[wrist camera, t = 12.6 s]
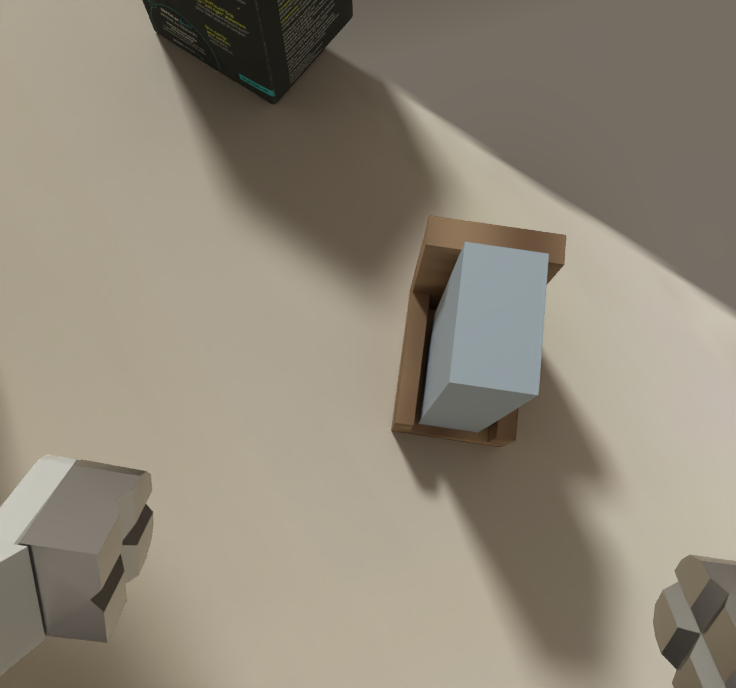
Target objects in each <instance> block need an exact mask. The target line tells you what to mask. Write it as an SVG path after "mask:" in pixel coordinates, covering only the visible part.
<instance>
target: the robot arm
mask: <svg viewBox="0 0 736 688" xmlns="http://www.w3.org/2000/svg"><path fill="white" fill-rule="evenodd" d="M151 492H152V482H151V474H150V473H148V472H147V471H142V470H137V469H131V468H126V467H120V466H114V465H109V464H103V463H98V462H92V461H87V460H77V459H72V458H66V457H61V456H55V455H50V454H47V455H45V456H44V457H42V458H40V459H38V460H37V461H36V462H35V464H34V465H33V466H32V467H31V469H30V470H29V471H28V472H27V474H26V475H25V476H24V477H23V479H22V480H21V481H20V483H19V484H18V485H17V486H16V488H15V489H14V490H13V491H12V493H11V494H10V495H9V496H8V498H7V499H6V500H5V501H4V503H3V504H2V505H1V507H0V676H1V675H2V674H3V673H5V672H6V671H7V670H8V669H10V668H11V667H12V666H13V665H14V664H16V663H17V662H18V661H19V660H21V659H22V658H23V657H24V656H26V655H27V654H28V653H29V652H30V651H32V650H33V649H34V648H35V647H37V646H38V645H39V644H40V643H41V642H43V641H44V640H45V635H46V636H55V637H63V638H71V639H80V640H88V641H97V642H105V643H107V642H108V640H109V638H110V636H111V633H112V631H113V629H114V627H115V625H116V623H117V621H118V619H119V616H120V614H121V612H122V610H123V608H124V606H125V604H126V601H127V599H126V583H128V582H129V581H131V580H132V579H133V578H135V577H136V576H138V575H139V573H140V571H141V569H142V566H143V564H144V562H145V560H146V557H147V553H148V550H149V546H150V543H151V539H152V532H153V511H152V510H151V509H150V508H149V507H148V506H147V504H146V502H147V500H148V498H149V496H150V494H151ZM675 574H676V576H677V579H678V582H677V583H675V584H673V585H671V586H669V587H668V588H666V589H664V590H663V591H662V593H661V594H660V596H659V598H658V600H657V602H656V604H655V610H654V619H653V625H654V631H655V638H656V640H657V643H658V646H659V649H660V652H661V654H662V655H663V656H664V657H665V658H666V659H667V660H668V661H669V662H670V663H671V664H672V665H673V666H674V667H675V668H676V669H677V670H676V673H675V676H674V678H673V681H672V684H673V687H674V688H736V561H731V560H724V559H717V558H710V557H703V556H696V555H689V556H687V557H685V558H683V559H682V560H681V561H680V563H679V564H678V566H677V568H676V569H675Z"/></svg>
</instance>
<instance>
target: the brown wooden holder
mask: <svg viewBox="0 0 736 688" xmlns="http://www.w3.org/2000/svg"><path fill="white" fill-rule="evenodd" d="M465 242H471V243H478V244H485V245H492V246H499V247H506V248H513V249H520V250H527V251H534V252H541V253H548V254H549V259H548V272H547V284H548V283H549V282H550V280H551V279H552V278H553V277H554V276H555V275H556V273H557V272H558V271H559V270H560V269H561V268H562V267H563V265H564V261H565V246H566V235H562V234H555V233H548V232H541V231H534V230H527V229H520V228H513V227H506V226H499V225H492V224H485V223H478V222H471V221H464V220H457V219H450V218H443V217H436V216H429V219H428V223H427V227H426V231H425V235H424V238H423V242H422V246H421V250H420V254H419V258H418V262H417V265H416V269H415V273H414V277H413V281H412V285H411V288H410V295H409V303H408V310H407V318H406V325H405V333H404V340H403V347H402V355H401V362H400V370H399V377H398V384H397V392H396V399H395V407H394V414H393V421H392V429H391V431H397V432H404V433H411V434H417V435H424V436H431V437H438V438H444V439H451V440H458V441H464V442H471V443H478V444H485V445H491V446H498V447H501V446H504V445H506V444H508V443H511V442H513V441H515V440H516V429H517V417H518V408H517V409H516V410H514V411H512V412H511V413H509V414H507V415H506V416H504V417H503V418H501V419H499V420H498V421H496V422H495V423H493V424H491V425H490V426H488V427H486V428H485V429H483V430H482V431H480V432H478V433H477V432H470V431H463V430H457V429H450V428H443V427H436V426H429V425H423V424H418V419H419V411H420V403H421V394H422V386H423V378H424V370H425V362H426V354H427V346H428V338H429V329H430V324H431V322H432V319H433V317H434V315H435V312H436V310H437V307H438V305H439V303H440V300H441V298H442V295H443V293H444V291H445V288H446V286H447V283H448V281H449V279H450V276H451V274H452V272H453V269H454V267H455V264H456V262H457V260H458V257H459V255H460V252H461V250H462V248H463V245H464V243H465Z"/></svg>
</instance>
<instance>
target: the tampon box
mask: <svg viewBox="0 0 736 688" xmlns="http://www.w3.org/2000/svg"><path fill="white" fill-rule="evenodd" d="M143 3H144V5H145V8H146V10H147V13H148V15H149V18H150V20H151V23H152V25H153V28H154V30H155V31H156V32H157V33H158V34H160V35H162V36H163V37H165V38H166V39H168V40H170V41H171V42H173V43H174V44H176V45H177V46H179V47H181V48H183V49H184V50H186V51H187V52H189V53H190V54H192V55H194V56H195V57H197V58H198V59H200V60H202V61H203V62H205V63H207V64H208V65H210V66H212V67H213V68H215V69H217V70H218V71H220V72H222V73H223V74H225V75H226V76H228V77H230V78H231V79H233V80H235V81H236V82H238V83H239V84H241V85H243V86H244V87H246V88H248V89H249V90H251V91H252V92H254V93H256V94H257V95H259V96H261V97H262V98H264V99H266V100H267V101H269V102H271V103H272V104H275V103H276V102H277V101H278V100H279V99H280V98H281V97H282V96H283V94H284V93H285V92H286V91H287V90H288V89H289V88H290V86H291V85H292V84H293V83H294V82H295V81H296V80H297V79H298V78H299V76H300V75H301V74H302V73H303V72H304V71H305V70H306V69H307V68H308V66H309V65H310V64H311V63H312V62H313V61H314V60H315V58H316V57H317V56H318V55H319V54H320V53H321V52H322V51H323V49H324V48H325V47H326V46H327V45H328V44H329V43H330V42H331V40H332V39H333V38H334V37H335V36H336V35H337V33H339V32H340V30H341V29H342V28H343V27H344V26H345V25H346V24H347V22H348V21H349V20H350V19H351V18H352V16H353V13H352V12H353V10H352V9H353V7H352V0H143Z"/></svg>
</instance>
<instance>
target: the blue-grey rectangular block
mask: <svg viewBox="0 0 736 688" xmlns="http://www.w3.org/2000/svg"><path fill="white" fill-rule="evenodd" d="M548 259H549V254H548V253H541V252H534V251H527V250H520V249H513V248H506V247H499V246H492V245H485V244H478V243H471V242H465V243H464V245H463V248H462V250H461V252H460V255H459V257H458V260H457V262H456V264H455V267H454V269H453V272H452V274H451V276H450V279H449V281H448V283H447V286H446V288H445V291H444V293H443V295H442V298H441V300H440V303H439V305H438V307H437V310H436V312H435V315H434V317H433V319H432V322H431V324H430V329H429V338H428V346H427V354H426V362H425V370H424V378H423V386H422V394H421V403H420V411H419V419H418V424H423V425H429V426H436V427H443V428H450V429H457V430H463V431H470V432H477V433H478V432H480V431H482V430H483V429H485V428H486V427H488V426H490V425H491V424H493V423H495V422H496V421H498V420H499V419H501V418H503V417H504V416H506V415H507V414H509V413H511V412H512V411H514V410H516V409H517V408H519V407H520V406H522V405H524V404H525V403H527V402H529V401H530V400H532V399H533V398H535V397H537V396H538V395H539V383H540V369H541V355H542V341H543V327H544V314H545V300H546V286H547V272H548Z"/></svg>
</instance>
